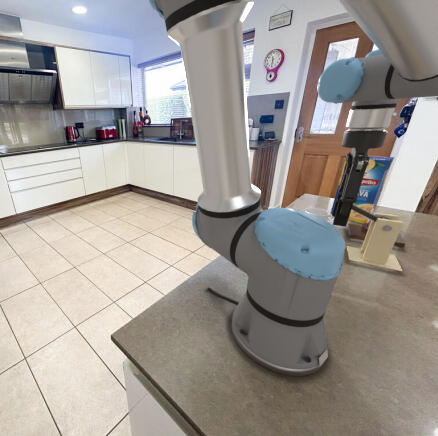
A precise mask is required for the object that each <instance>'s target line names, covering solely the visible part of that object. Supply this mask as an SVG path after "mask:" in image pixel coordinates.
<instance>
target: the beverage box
mask: <svg viewBox="0 0 438 436" xmlns="http://www.w3.org/2000/svg"><path fill="white" fill-rule="evenodd" d="M369 156H370V159H369V164H368V165H367V168H366V170H365V173H364V177H363V180H362V183H361V186H360V190H359V193H358V196H357V199H356V200H357V201H356V203H353V205H355V206H357V207H359V208H361V209H363V210H365V211H367V212H369V213H371V214H373V215H374V212H375V211H376V208H377V205H378V203H379V200H380V197H381V195H382V192H383V189H384V187H385V184H386V181H387V178H388V175H389V172H390V170H391V167H392V164H393V162H394V159H395V157H394V156H393V157H392V156H382V155H381V156H380V155H369ZM345 163H346V159H344V163H343V167H342V171H341V173H340V177H339V181H338V185H337V188H336V192H335V196H334V199H333V202H332V206H331V209H330V214H332V212H333V209H334V205H335V202H336V198H337V195H338V193H341V192H339V191H338V190H339V185H340V182H341V178H342V175H343V171H344V166H345ZM350 198H351V197H350ZM334 217H335V216H333V218H334ZM348 221H350V222H351V221H352V222H356V223H360V224H364V223H369V222H370V221H371V219H369V218H367V217H365V216H363V215H362V214H360V213H358V212H356V211H354V210H352V209H351V213H350V216H349V219H348Z"/></svg>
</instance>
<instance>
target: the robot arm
mask: <svg viewBox="0 0 438 436" xmlns="http://www.w3.org/2000/svg"><path fill="white" fill-rule="evenodd" d="M148 2H149V4H150V6H151V8H152V9H153V10H154V11H156V12H157V13H158V15H159V17H160V18H161V19H163V20H164V24H165V30H166V35H167V37H168V38H169V39H171V40H172V41H173V42H174V43H176V44H177V45H178V46H179V47H180V53H181V60H182V67H183V72H184V73H183V74H184V78H185V86H186V91H187V97H188V102H189V109H190V114H191V122H192V127H193V135H194V139H195V140H194V141H195V146H196V151H197V159H198V165H199V170H200V171H199V172H200V177H201V183H202V188H203V191H201V193H199V195H198V197H197V203H196V205H195V210H194V211H192V216H191V217H192V218H191V225H192V228H193V232H194V233H195V235H196V237H198V239H199V240H200V241H201V242H202V243H203V245H205V246H206V247H208V248H210V249H212V250H213V251H214V252H216V253H217V254H218V255H219V256H221V257H222V258H224V259H226V260H227V261H228V262H229V263H231V264H232V265H233V266H235V267H236V268H238V269H239V270H241V272H243V273H244V274H246V276H247V277H248V279H247V283H246V284H247V285H246V290H245V291H246V292H245V293H244V295H243V296H242V298H241V299H240V301H237V300H234V299H232V298H231V297H228V296H225V295H222V294H220V293H218V292H216V291H215V290H214V289H212V288H211V287H208V288H207V289H206V290H207V291H208V292H209V293H211V294H212V295H214V296H216V297H217V298H220V299H222V300H225V301H227V302H228V303H231V304H233V305H236V306H235V308H234V310H233V313H232V316H231V325H230V326H231V332H232V337H233V338H234V340H235V342H236V344H237V345H238V346H239V348H240V349H241V350H242V352H244V354H245V355H246V356H247V357H249V358H250V359H251V360H252V361H254V362H255V363H256V364H258V365H260V366H261V367H263V368H265V369H266V370H269V371H272V372H274V373H277V374H280V375H285V376H289V377H305V376H309V375H312V374H314V373H316V372H317V371H319V370H320V368H322V366H323V365H324V363H325V361H326V360H327V358H329V351H328V340H327V334H326V328H325V321H324V317H325V314H326V311H327V308H328V305H329V303H330V299H331V296H332V294H333V291H334V288H335V285H336V283H337V279H338V278H339V275H340V273H341V271H342V269H343V260H344V255H345V250H346V242H345V241H346V240H345V239H344V237H343V234H342V233H341V231H340V230H339V229H338V228H337V227H336V226H338V227H343V228H347V225H348V221H349V220H348V219H349V216H350V213H351V209H352V206H353V203H356V201H357V200H356V199H357V196H358V193H359V190H360V186H361V183H362V180H363V177H364V173H365V170H366V168H367V165H368V164H369V159H370V156H371V155H369V154H368V152H369V150H370V149H380V148H382V147H383V146H384V143H385V141H386V138H387V135H388V131H387V130H386V129H387V128H389V127H390V124H391V122H392V118H396V117H397V115H398V113H397V112H395V110H396V107H397V105H398V102H399V99H416V98H433V97H438V0H337V2H339V4H340V5H341V6H342V7H343V9H344V10H345V11H346V13H348V15H349V16H350V17H351V18H352V19H353V20H354V21H355V23H356V24H357V25H358V27H359V28H360V29H361V30H362V31H363V33H364V34H365V35H366V36H367V38H368V39H369V40H370V41H372V43H373V44H374V46H376V48H377V49H375V50H372V51H369V52H368V53H367V54H366V55H365V57H364V56H363V57H355V56H352V57H349V58H348V57H347V58H340V59H338V60H335V61H334V62H332V63H331V64H329V65H328V66H327V67H326V68H325V69H324V70H323V71H322V73H321V74H320V76H319V78H318V82H317V87H316V90H317V95H318V97H319V98H320V99H321V101H323V102H325V103H330V104H331V103H332V104H344V103H351V107H350V110H349V113H348V117H347V120H346V124H345V128H346V130H345V131H344V132H343V137H342V140H341V143H340V144H341V147H343V148H348V149H351V151H349V152H348V153H346V156H345V160H346V163H345V162H344V163H345V166H344V165H343V167H344V171H343V175H342V178H341V182H340V185H339V190H338V191H339V192H341V193H338V195H337V198H336V202H335V205H334V209H333V212H332V216H333V221H332V223H331V222H330V221H326V220H324V219H322V218H320V217H318V216H316V215H314V214H311V213H308V212H305V211H304V210H302V209H301V210H300V209H298V210H296V209H295V210H294V209H293V208H290V207H272V208H268V209H264V210H263V208H262V193H261V189H259V188H258V187H257V186H256V185H254V184H253V183H252V176H251V174H252V172H251V156H250V140H249V122H248V121H249V120H248V104H247V88H246V87H247V85H246V70H245V69H246V68H245V51H244V33H243V24H244V21H245V19H246V18H247V16H248V14H249V12H250V11H251V9H252V7H253V5H254V3H255V1H254V0H148ZM350 197H351V198H350ZM340 198H341V199H340ZM334 216H335V217H334ZM329 222H330V223H329Z"/></svg>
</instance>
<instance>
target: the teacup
mask: <svg viewBox="0 0 438 436" xmlns="http://www.w3.org/2000/svg"><path fill="white" fill-rule="evenodd" d="M303 211H305V212H308V213H311V214H314V215H316V216H318V217H320V218H322V219H324V220H326V221H328V222H329V223H331V222H330V221H332V220H333V219H334V216H332V214H330V213H331V211H328V210H327V209H324V208H321V207H320V208H319V207H307V208H304V210H303ZM329 217H330V218H329Z"/></svg>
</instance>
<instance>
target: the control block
mask: <svg viewBox="0 0 438 436" xmlns="http://www.w3.org/2000/svg"><path fill="white" fill-rule="evenodd" d="M368 225H369V222H368V223H361V224H355V223H348V222H347V225H346V228H347V234H348V238H349V239H354V240H358V241H364V240H365V237H366V234H367V231H368V229H369V227H368ZM393 247H398V248H405V247H406V242H405V240H404V238H403V237H402V235H401V234H400V233H399V234H398V236H397V239H396V241H395V243H394V246H393Z"/></svg>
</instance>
